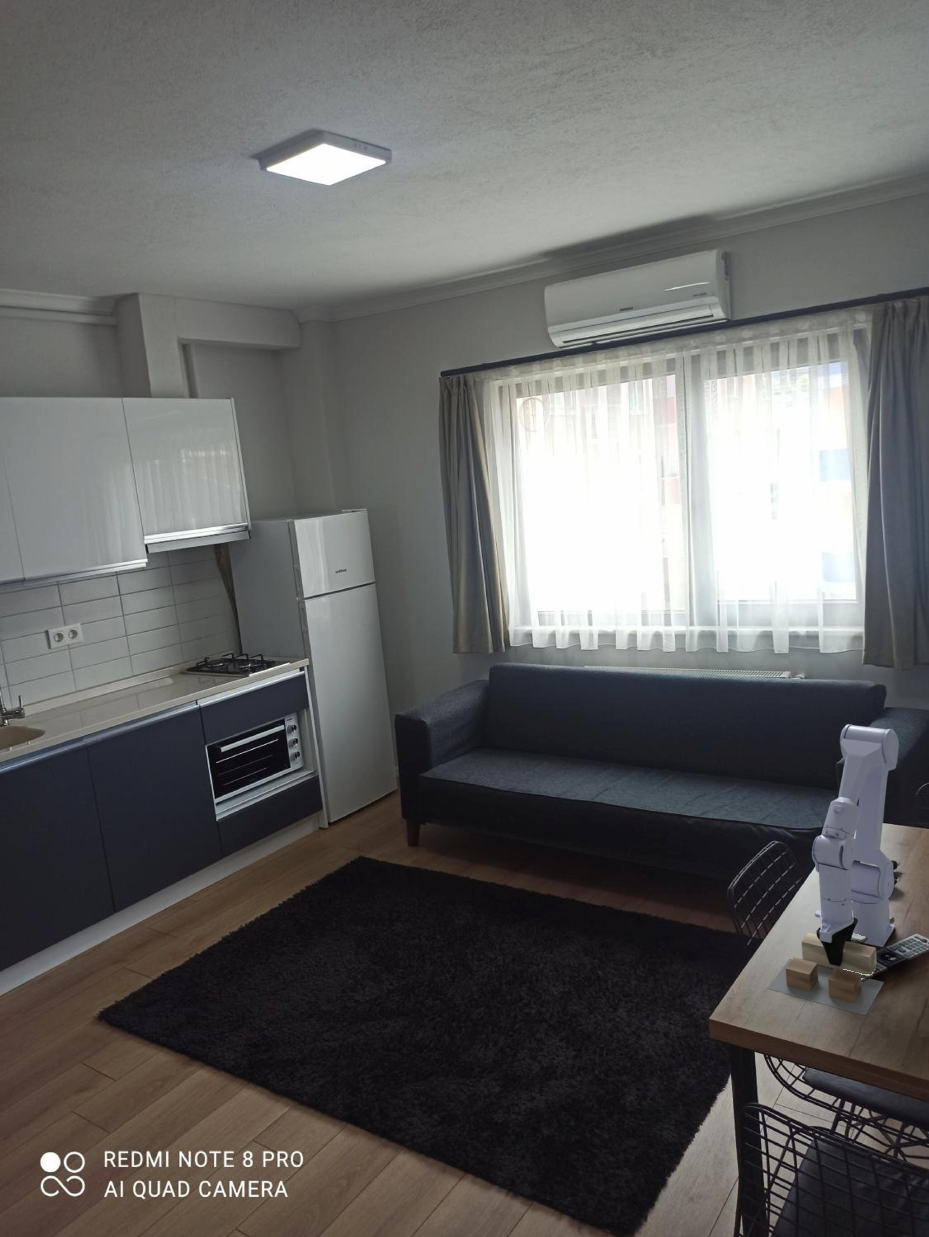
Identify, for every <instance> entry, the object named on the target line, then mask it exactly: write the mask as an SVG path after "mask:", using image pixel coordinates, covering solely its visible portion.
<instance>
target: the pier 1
mask: <svg viewBox="0 0 929 1237" xmlns="http://www.w3.org/2000/svg"><path fill="white" fill-rule="evenodd" d="M791 959H792V961H791V962H790V963H789V965H788V966H787V967H786V982H787V985H788V986H792V987H796V988H799V989H803V990H807V991H811V990H812V988H813V987H814V985H815V984H816V982H817V981H818V968H817V966H818V965H817V963H815V962H811V961H807V960H803V958H798V957H793V958H791Z"/></svg>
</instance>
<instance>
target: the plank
mask: <svg viewBox="0 0 929 1237" xmlns="http://www.w3.org/2000/svg"><path fill="white" fill-rule="evenodd" d="M801 952H802V959H803V960H807V961H811V962H815V963H817V966H821V967H825V968H829V969H833V970H835V968H839V969H847V970H851V971H854V972H859V973H862V974H870V975H871V974H872V972H873V971H874V969H875V967H876V965H877V962H878V961H877V947H874V946H869V945H866V944H862V943H861V944H860V943H858V942H857V943H856V942H854V941H853V942H852V941H851V942H848V941H846V942H845V945H844V949H843V959H842V964H841V966H835V965H831V964H830V963H829V961H828V958H827V955H826V952H825V949H824V947H823V945H822V943H821V941H820V940H819V939H818V937H817V934H816V933H811V932H807V933H806V935H805V936H804V938H803V939H802V940H801ZM877 966H878V965H877Z"/></svg>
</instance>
